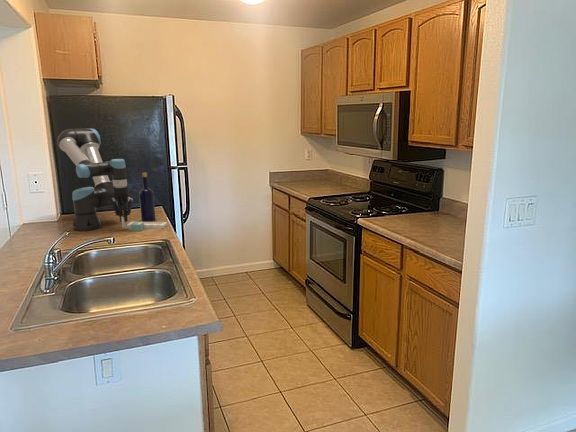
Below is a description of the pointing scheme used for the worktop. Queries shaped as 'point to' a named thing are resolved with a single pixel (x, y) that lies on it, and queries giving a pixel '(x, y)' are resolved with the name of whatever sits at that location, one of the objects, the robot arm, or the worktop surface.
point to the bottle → (147, 202)
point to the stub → (137, 226)
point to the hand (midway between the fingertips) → (124, 227)
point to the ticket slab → (151, 225)
